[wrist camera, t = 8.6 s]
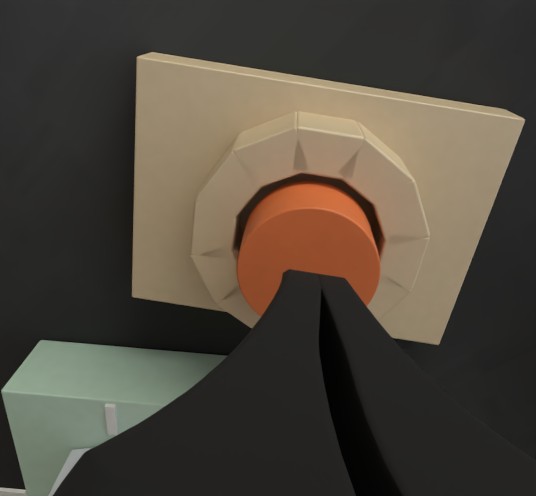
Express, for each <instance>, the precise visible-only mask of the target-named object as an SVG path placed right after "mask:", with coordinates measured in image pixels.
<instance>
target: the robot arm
mask: <svg viewBox="0 0 536 496" xmlns="http://www.w3.org/2000/svg"><path fill="white" fill-rule="evenodd" d="M53 496H536V460H535V459H533V458H532V457H530V456H529V455H527V454H526V453H524V452H523V451H522V450H520V449H519V448H517V447H516V446H514V445H513V444H512V443H510V442H509V441H507V440H506V439H505V438H503V437H502V436H500V435H499V434H498V433H497V432H495V431H494V430H493V429H491V428H490V427H489V426H487V425H486V424H485V423H483V422H482V421H481V420H480V419H478V418H477V417H476V416H474V415H473V414H472V413H470V412H469V411H468V410H467V409H466V408H464V407H463V406H462V405H461V404H459V403H458V402H457V401H456V400H455V399H454V398H452V397H451V396H450V395H449V394H448V393H447V392H446V391H445V390H444V389H442V388H441V387H440V386H439V385H438V384H437V383H436V382H435V381H434V380H432V379H431V378H430V377H429V376H428V375H427V374H426V373H425V372H424V371H423V370H422V369H421V368H420V367H419V366H418V365H417V364H416V363H415V362H414V361H413V360H412V359H411V358H410V357H409V356H408V355H407V354H406V352H405V351H404V350H403V349H402V348H401V347H400V346H399V345H398V344H397V343H396V342H395V340H394V339H393V338H392V337H391V336H390V335H389V334H388V332H387V331H386V330H385V329H384V328H383V326H382V325H381V324H380V323H379V322H378V320H377V319H376V318H375V317H374V315H373V314H372V313H371V311H370V310H369V309H368V308H367V306H366V305H365V304H364V302H363V301H362V300H361V298H360V297H359V296H358V294H357V293H356V292H355V290H354V289H353V288H352V286H351V285H350V284H349V282H348V281H347V280H346V279H345V278H343V277H337V276H330V275H324V274H318V273H311V272H305V271H298V270H292V269H288V270H287V271H285V272H283V275H282V280H281V284H280V286H279V288H278V290H277V292H276V294H275V296H274V298H273V299H272V301H271V303H270V304H269V306H268V307H267V309H266V310H265V312H264V313H263V315H262V316H261V318H260V319H259V320H258V322H257V323H256V324H255V325H254V327H253V328H252V329H251V330H250V332H249V333H248V334H247V335H246V337H245V338H244V339H243V340H242V341H241V342H240V343H239V345H238V346H237V347H236V348H235V349H234V350H233V351H232V352H231V353H230V354H229V355H228V356H227V357H226V358H225V359H224V360H223V361H222V362H221V363H220V364H219V365H218V366H216V367H215V368H214V369H213V370H212V371H211V372H209V373H208V374H207V375H206V376H205V377H204V378H203V379H201V380H200V381H199V382H198V383H197V384H195V385H194V386H193V387H191V388H190V389H189V390H188V391H186V392H185V393H183V394H182V395H181V396H179V397H178V398H176V399H175V400H173V401H172V402H170V403H169V404H167V405H166V406H164V407H163V408H161V409H160V410H159V411H157V412H156V413H154V414H153V415H151V416H150V417H148V418H146V419H145V420H143V421H142V422H140V423H138V424H137V425H135V426H133V427H131V428H129V429H127V430H126V431H124V432H122V433H120V434H118V435H116V436H115V437H113V438H111V439H109V440H107V441H105V442H104V443H102V444H100V445H98V446H96V447H94V448H92V449H90V450H88V451H86V452H84V454H83V455H82V456H81V457H80V459H79V460H78V461H77V463H76V464H75V465H74V467H73V468H72V469H71V471H70V472H69V473H68V475H67V476H66V477H65V479H64V480H63V481H62V483H61V484H60V486H59V487H58V488H57V490H56V491H55V493H54V494H53Z"/></svg>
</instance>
